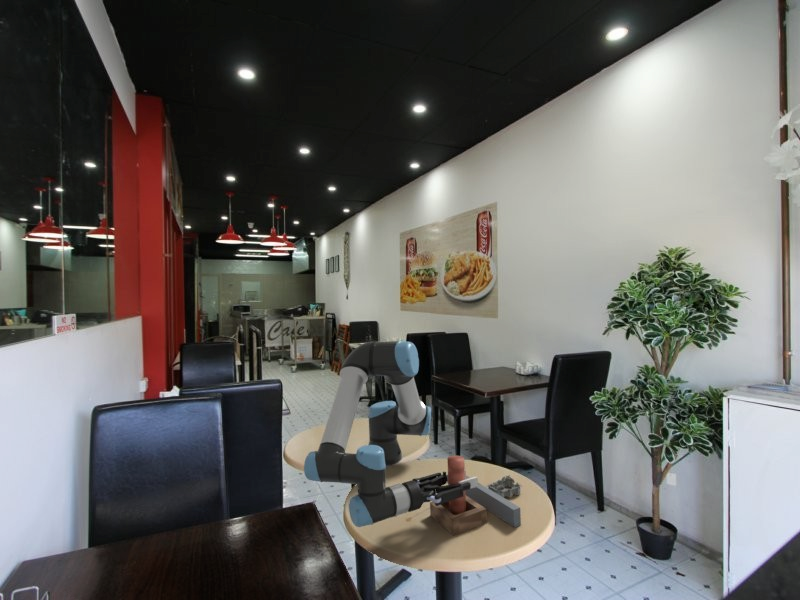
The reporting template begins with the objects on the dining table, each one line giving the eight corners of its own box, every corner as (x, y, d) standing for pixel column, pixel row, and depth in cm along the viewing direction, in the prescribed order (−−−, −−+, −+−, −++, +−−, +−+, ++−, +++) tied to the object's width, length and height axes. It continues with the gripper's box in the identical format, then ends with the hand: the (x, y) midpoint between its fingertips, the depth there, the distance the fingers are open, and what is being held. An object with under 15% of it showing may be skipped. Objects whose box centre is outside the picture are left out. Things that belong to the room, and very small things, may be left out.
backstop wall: (459, 490, 137) (459, 476, 137) (465, 489, 138) (464, 474, 138) (514, 527, 114) (513, 509, 114) (520, 524, 115) (520, 507, 115)
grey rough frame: (510, 485, 140) (510, 474, 140) (524, 495, 133) (524, 482, 133) (484, 491, 136) (484, 479, 136) (498, 501, 129) (497, 489, 129)
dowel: (446, 510, 120) (444, 457, 120) (459, 506, 122) (457, 454, 122) (455, 518, 115) (453, 463, 116) (469, 513, 118) (467, 459, 118)
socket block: (430, 515, 121) (430, 502, 122) (462, 504, 127) (461, 492, 127) (453, 535, 111) (453, 520, 111) (486, 522, 117) (486, 509, 117)
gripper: (390, 497, 118) (453, 479, 129) (421, 526, 102) (491, 502, 114) (389, 472, 118) (453, 456, 129) (420, 497, 103) (490, 476, 114)
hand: (470, 477), depth 121 cm, fingers closed on dowel, 5 cm apart
